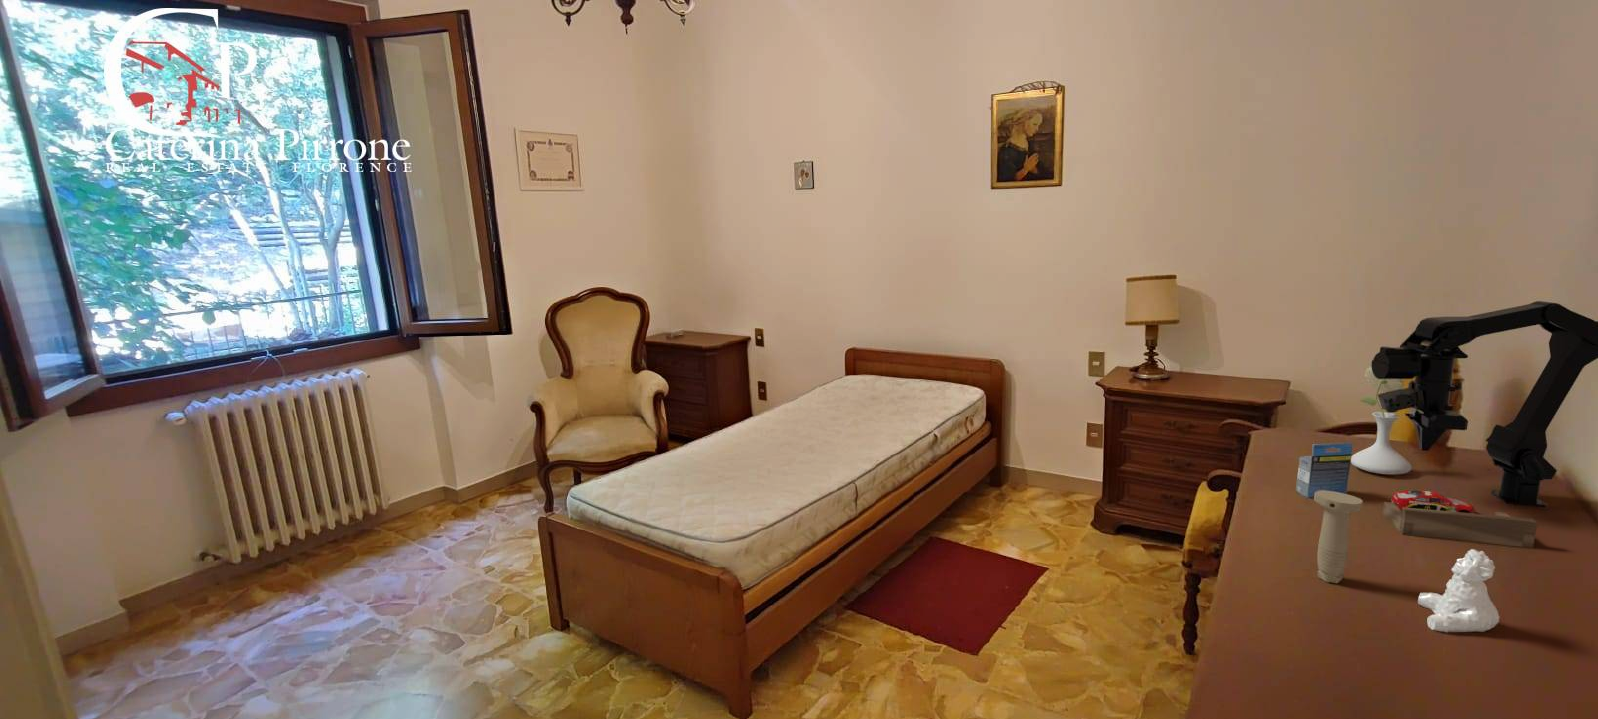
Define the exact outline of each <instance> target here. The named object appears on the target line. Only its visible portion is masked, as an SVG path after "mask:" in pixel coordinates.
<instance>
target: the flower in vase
mask: <svg viewBox="0 0 1598 719" xmlns="http://www.w3.org/2000/svg"><path fill="white" fill-rule="evenodd" d="M1363 376H1364V377H1365V378H1366V381H1367V382H1368V383H1369V384H1370V386H1371V387H1373V388H1375V389H1376V392H1375V398H1372V397H1371V396H1369V395H1366V396H1363V398H1361V399H1360V402H1362V403H1365V404H1367V405H1370V406H1372V407H1373V406H1375V405H1377V406H1378V408H1379V410H1380V411H1376V412H1375V411H1374V412H1372V413H1371V415H1372V416H1373V417H1374V419H1375V422H1376V425H1377V426H1376V427H1377V435H1376V440H1375V442H1374V443H1373V445H1370V446H1369V447H1367V448H1365V449H1362V450H1360V451H1358V452H1356V453H1354V454H1353V455H1352V456H1351V463H1350V464H1351V465H1353V466H1354V467H1356V468H1358V469H1360V470H1362V471H1366V472H1370V473H1375V474H1381V475H1391V476H1392V475H1395V476H1396V475H1402V474H1408V473H1409V472H1411V470H1412V465H1411V463H1410V462H1409V461H1408V460H1407V459H1406V458H1405V457H1403V456H1402V455H1401V454H1400V453H1398V452H1397V451H1396V450H1394V448H1392V446H1391V443H1390V437H1391V436H1390V435H1391V431H1392V427H1393V426H1394V423H1395V422H1396V421H1397V420H1398V419H1399V418H1400V417H1401V416H1400V415H1399V414H1396V413H1394V412H1393V413H1388V412H1387V411H1384V409H1382V406H1381V404H1380V402H1379V401H1378V395H1379V394H1378V393H1379V391H1380V390H1381V392H1382V393H1385V392H1389V391H1394V390H1398V389H1404V386H1405V384H1404V383H1405V381H1404V379H1378V378H1376V377H1375V376H1374V374H1373V372H1372V367H1371V366H1369V367H1368V368H1366V371H1365V374H1364V375H1363Z"/></svg>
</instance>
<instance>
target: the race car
mask: <svg viewBox="0 0 1598 719" xmlns="http://www.w3.org/2000/svg"><path fill="white" fill-rule="evenodd" d="M1389 502H1390V503H1394V504H1395V505H1396V506H1397V507H1398V508H1399V509H1400V510H1401V511H1402V507H1406V508H1417V509H1428V510H1439V511H1450V512H1461V513H1472V514H1476V510H1475V507H1474V506H1473V505H1472V503H1468V502H1466V501H1462V500H1460V499H1457V498H1452V497H1447V496H1444V495H1442V494H1440V493H1438V492H1435V491H1430V490H1418V489H1417V490H1404V491H1398V492H1397V491H1395V492H1394V493H1393V494H1392V496H1391V498H1390V501H1389Z"/></svg>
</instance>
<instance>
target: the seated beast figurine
mask: <svg viewBox="0 0 1598 719" xmlns="http://www.w3.org/2000/svg"><path fill="white" fill-rule="evenodd" d="M1495 569H1496V566H1495V565H1494V561H1493V560H1491V559H1490V558H1489V556H1488V555H1486V553H1485V552H1484V551H1483V550H1479V551H1478V550H1477V549H1473V548H1470V550H1467V552H1466V553H1465V554H1464V557H1463V558H1457V559H1456V562H1455V564H1454V565H1453V567H1451V571H1452V573H1453V575H1452V576H1451V579H1448V582H1447V583H1446V584H1445V586H1446V589H1445V591H1444V593H1443V594H1439V593H1436V592H1420V593H1419V596H1418V599H1417V604H1418V605H1419V606H1420V607H1422V608H1426V609H1428V610H1432V612H1433V613H1434V614H1431V615H1429V616H1427V621H1426V622H1427V623H1426V624H1427V626H1428V628H1429V629H1431V630H1432V631H1436V632H1443V633H1446V634H1447V633H1473V632H1477V633H1478V632H1479V633H1483V632H1486V631H1489V630H1492V628H1495V627H1496V625H1498V624H1499V621H1500V618H1501V616H1500V615H1499V612H1498V609H1497V607H1496V606H1495V604H1494V603H1493V601H1492V600H1491V598H1490V596H1489V594H1488V588H1487V587H1488V586H1487V585H1486V584H1485V581H1487V580H1488V579H1492V578H1493V576H1494V571H1495Z"/></svg>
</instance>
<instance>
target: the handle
mask: <svg viewBox="0 0 1598 719" xmlns="http://www.w3.org/2000/svg"><path fill="white" fill-rule="evenodd" d="M1313 500H1314V502H1315V503H1317V504H1318V505H1319V506H1320V507H1322V508H1323V517H1322V522H1321V528H1320V533H1319V540H1318V546H1317V557H1316V558H1317V568H1318V570H1317V577H1318V579H1321V580H1323V582H1325V583H1333V584H1339V582H1341V581H1342V579H1343V577H1344V576H1343V573H1344V571H1345V568H1346V564H1347V559H1348V558H1347V557H1348V547H1349V546H1348V541H1349V518H1350V515H1351V514H1350V513H1355V512H1358V511H1360V510H1361V509H1362V508H1363V500H1362V499H1361V498H1360V497H1357V496H1354V495H1351V494H1348V493H1346V494H1344V493H1339V492H1334V491H1325V490H1320V491H1316V492H1315V493H1314V497H1313Z"/></svg>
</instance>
